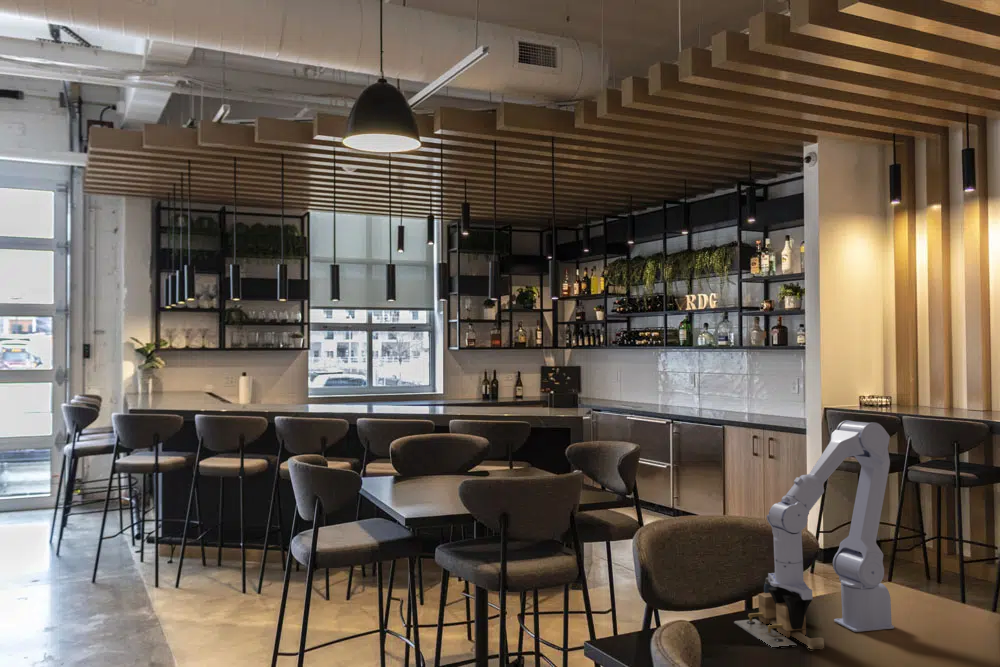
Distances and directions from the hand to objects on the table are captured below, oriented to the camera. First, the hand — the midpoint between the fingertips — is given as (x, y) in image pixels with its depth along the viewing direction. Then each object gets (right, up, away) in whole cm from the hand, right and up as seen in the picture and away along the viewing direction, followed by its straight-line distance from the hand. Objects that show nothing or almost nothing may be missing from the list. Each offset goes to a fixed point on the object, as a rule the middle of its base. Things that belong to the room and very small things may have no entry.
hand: (791, 625), depth 175 cm
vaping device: (+2, -3, +14) cm, 14 cm away
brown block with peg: (-1, -2, 0) cm, 2 cm away
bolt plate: (-6, -2, +1) cm, 6 cm away
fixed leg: (-3, -2, +8) cm, 9 cm away
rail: (0, -2, +1) cm, 2 cm away
